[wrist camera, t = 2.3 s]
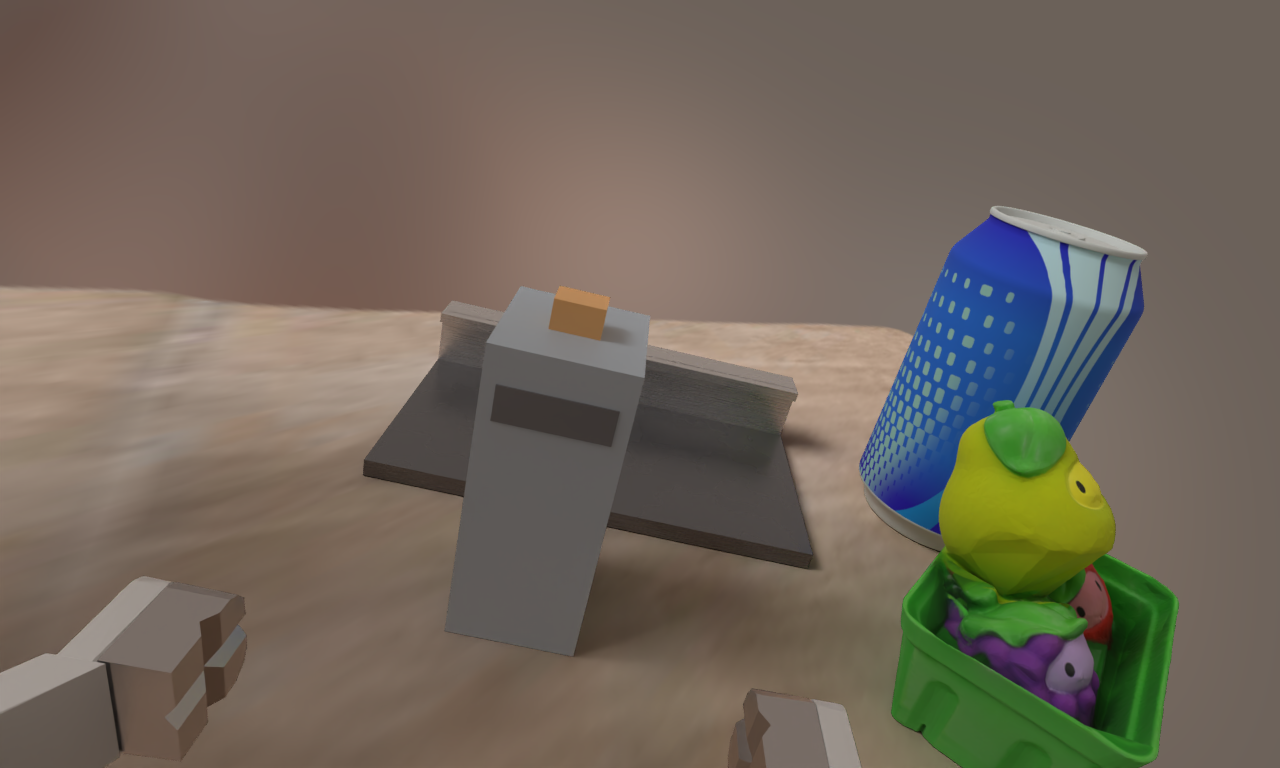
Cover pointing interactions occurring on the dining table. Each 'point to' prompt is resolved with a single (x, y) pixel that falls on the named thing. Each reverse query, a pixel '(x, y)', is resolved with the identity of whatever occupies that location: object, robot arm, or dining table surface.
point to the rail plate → (632, 445)
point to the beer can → (999, 351)
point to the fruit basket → (1032, 614)
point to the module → (544, 466)
